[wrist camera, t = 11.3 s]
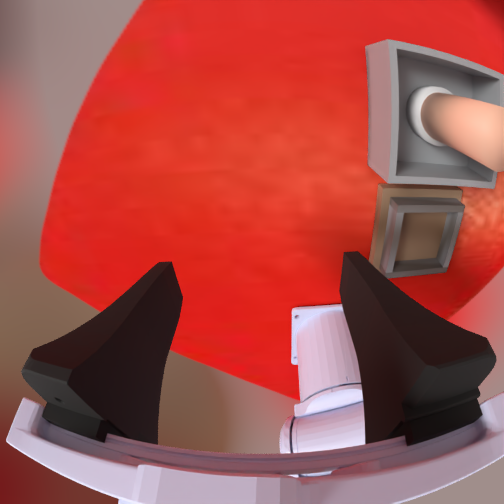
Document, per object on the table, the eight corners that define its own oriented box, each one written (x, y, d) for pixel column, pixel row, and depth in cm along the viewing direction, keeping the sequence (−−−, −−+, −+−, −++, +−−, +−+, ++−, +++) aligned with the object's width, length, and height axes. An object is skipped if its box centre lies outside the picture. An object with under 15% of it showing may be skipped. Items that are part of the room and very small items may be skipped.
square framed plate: (438, 262, 23) (449, 277, 21) (367, 268, 24) (375, 285, 22) (456, 186, 19) (472, 197, 17) (378, 183, 20) (390, 196, 17)
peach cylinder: (452, 91, 14) (525, 109, 7) (450, 144, 17) (517, 181, 10) (405, 81, 15) (476, 90, 8) (405, 138, 17) (470, 175, 10)
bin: (467, 170, 18) (494, 188, 15) (367, 164, 19) (387, 183, 16) (472, 70, 13) (503, 75, 10) (365, 46, 14) (387, 39, 11)
